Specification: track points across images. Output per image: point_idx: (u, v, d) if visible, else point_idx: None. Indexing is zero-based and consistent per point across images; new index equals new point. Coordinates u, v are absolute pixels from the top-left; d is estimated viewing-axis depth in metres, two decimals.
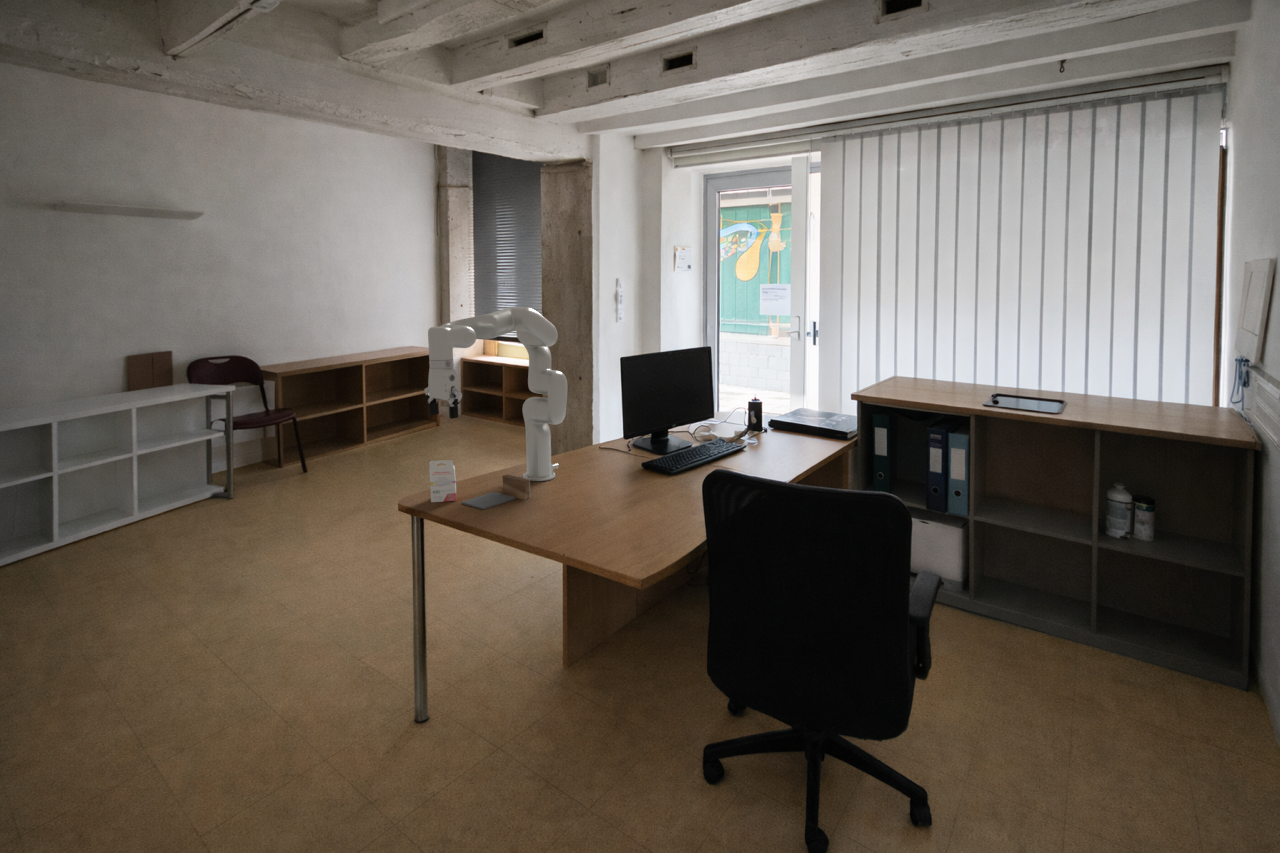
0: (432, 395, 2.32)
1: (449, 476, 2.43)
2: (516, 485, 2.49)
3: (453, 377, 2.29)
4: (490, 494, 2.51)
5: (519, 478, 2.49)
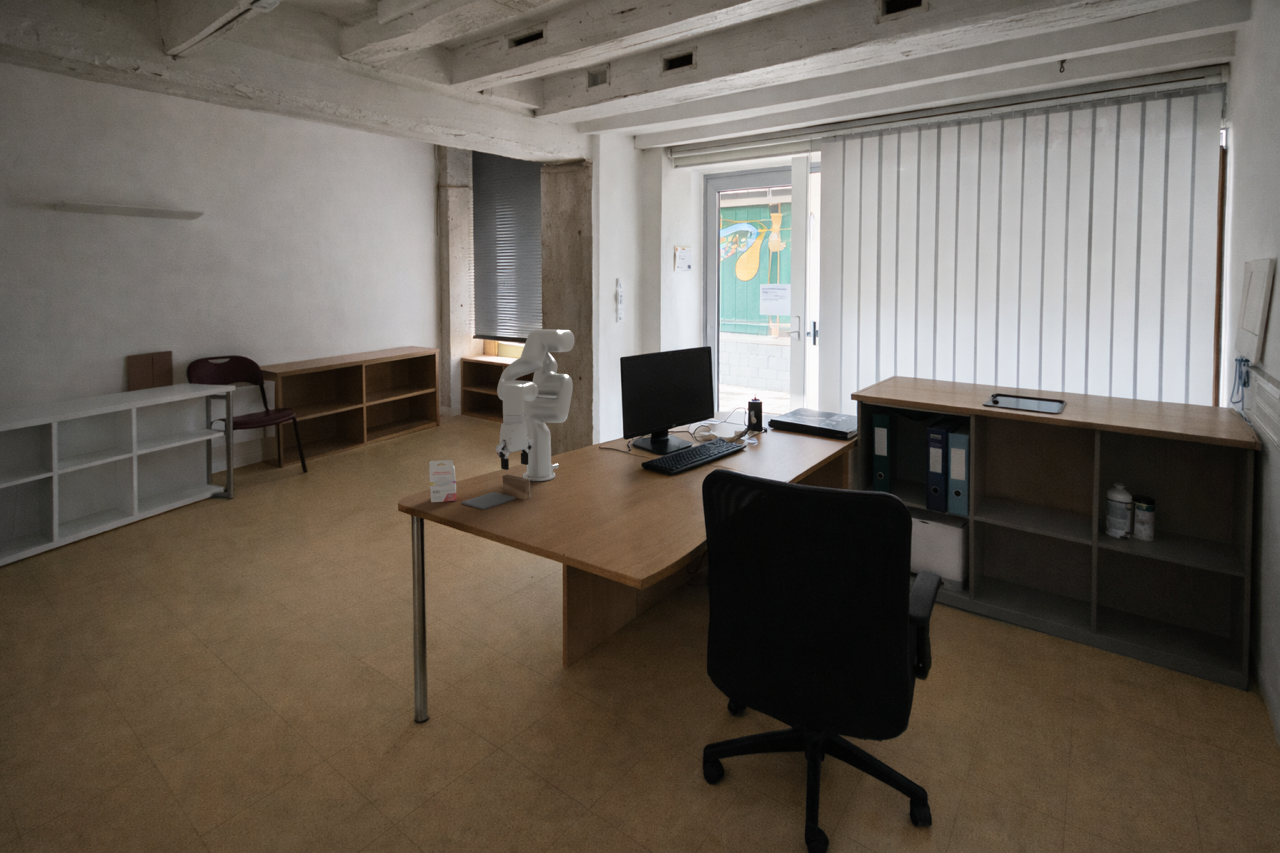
0: (513, 449, 2.44)
1: (449, 476, 2.43)
2: (516, 485, 2.49)
3: None
4: (490, 494, 2.51)
5: (519, 478, 2.49)
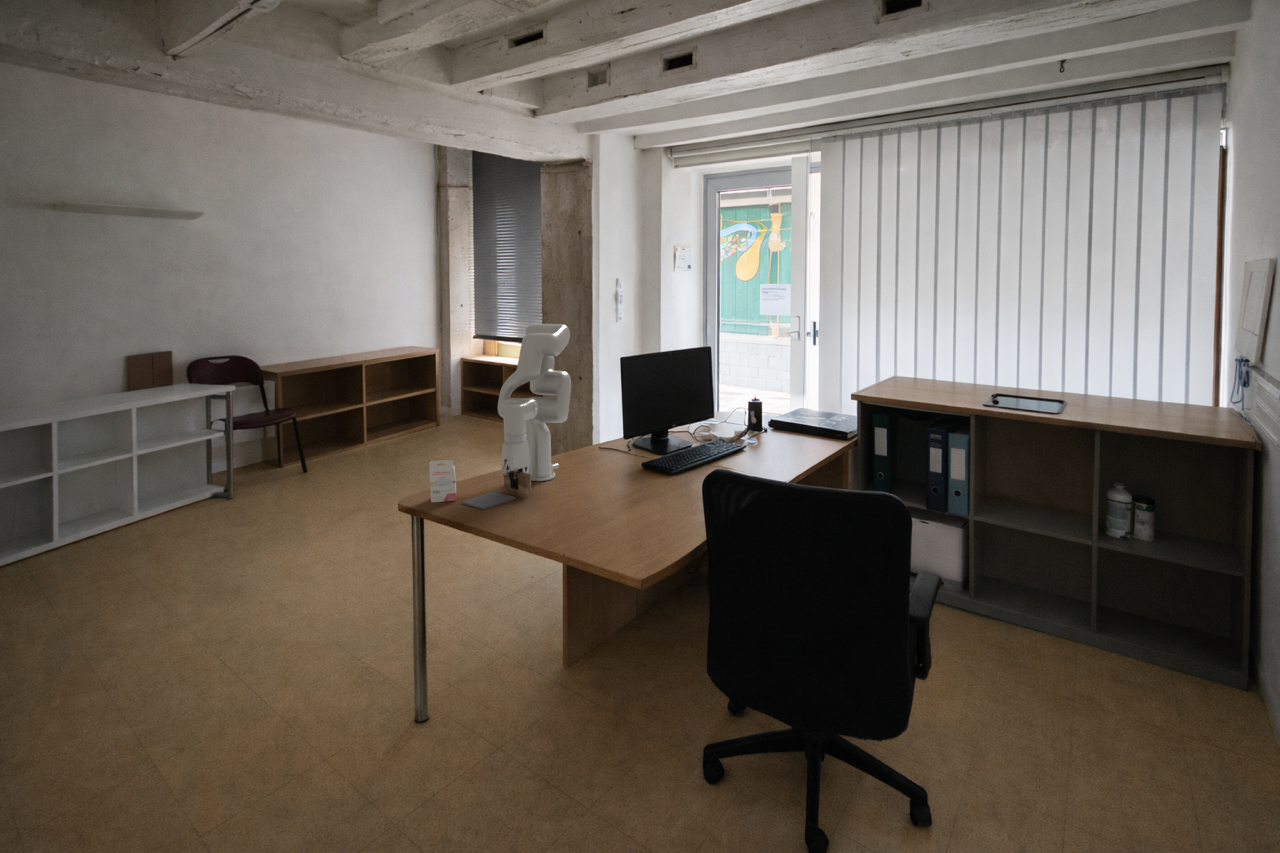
0: (515, 468, 2.46)
1: (449, 476, 2.43)
2: None
3: None
4: (490, 494, 2.51)
5: (520, 472, 2.50)
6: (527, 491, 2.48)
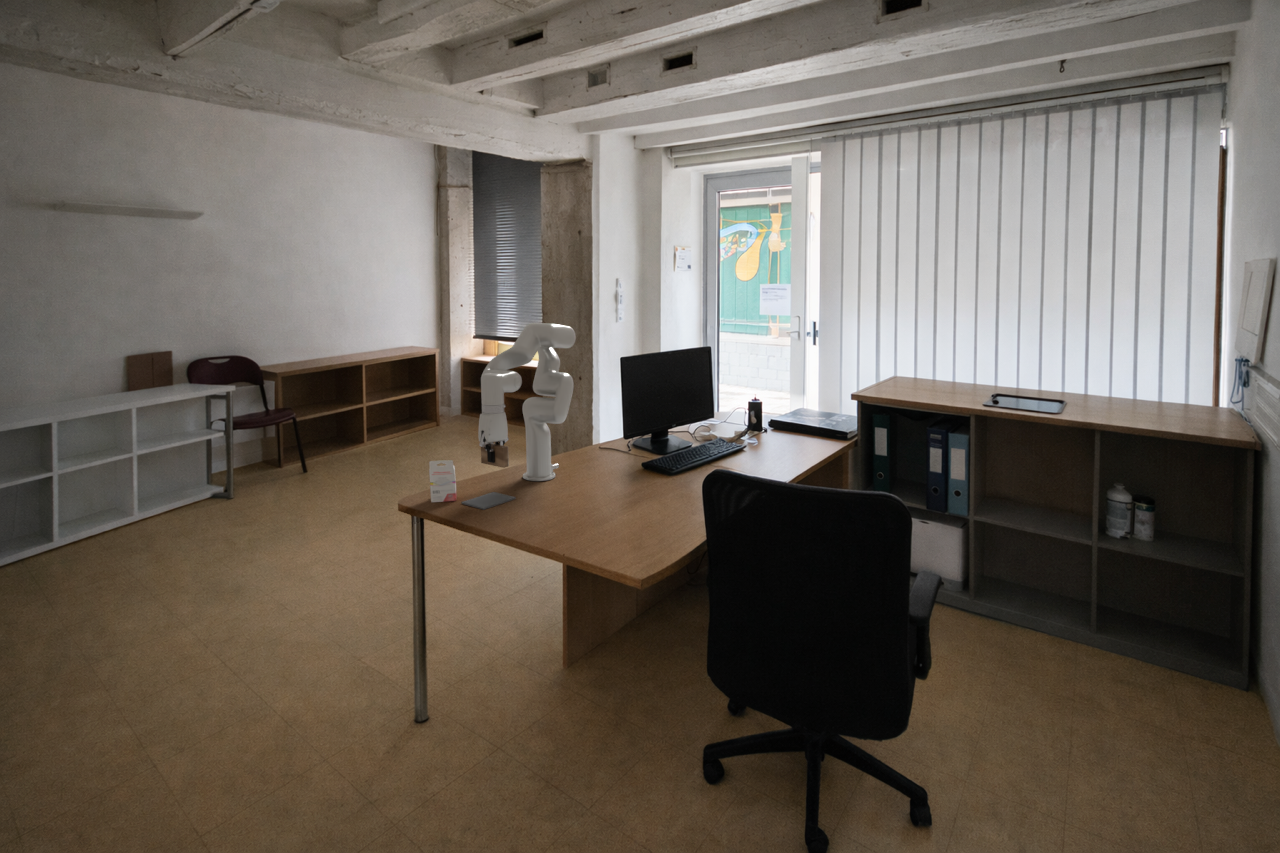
0: (492, 440, 2.40)
1: (449, 476, 2.43)
2: None
3: None
4: (490, 494, 2.51)
5: (498, 445, 2.43)
6: (504, 464, 2.41)
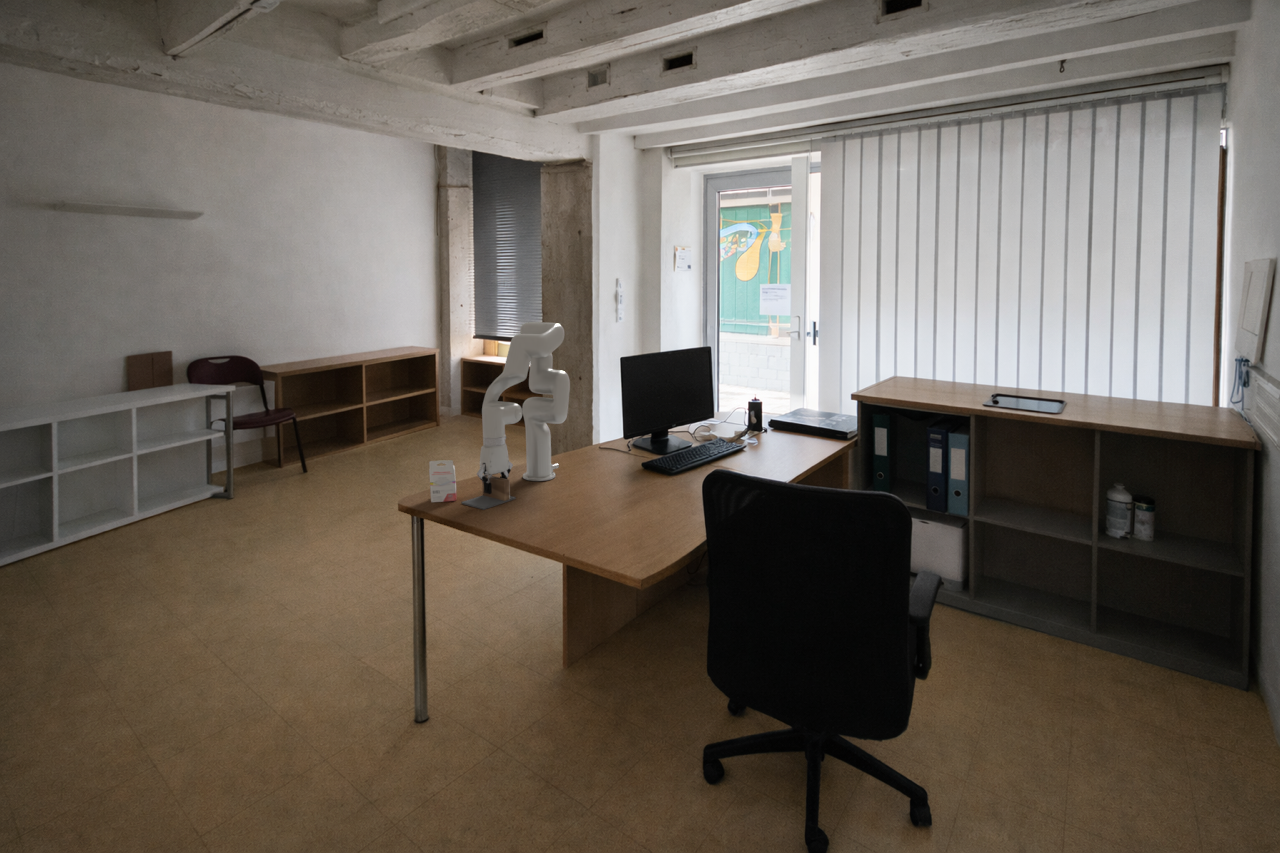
0: (493, 472, 2.42)
1: (449, 476, 2.43)
2: (496, 486, 2.45)
3: None
4: None
5: (499, 478, 2.46)
6: (505, 497, 2.44)
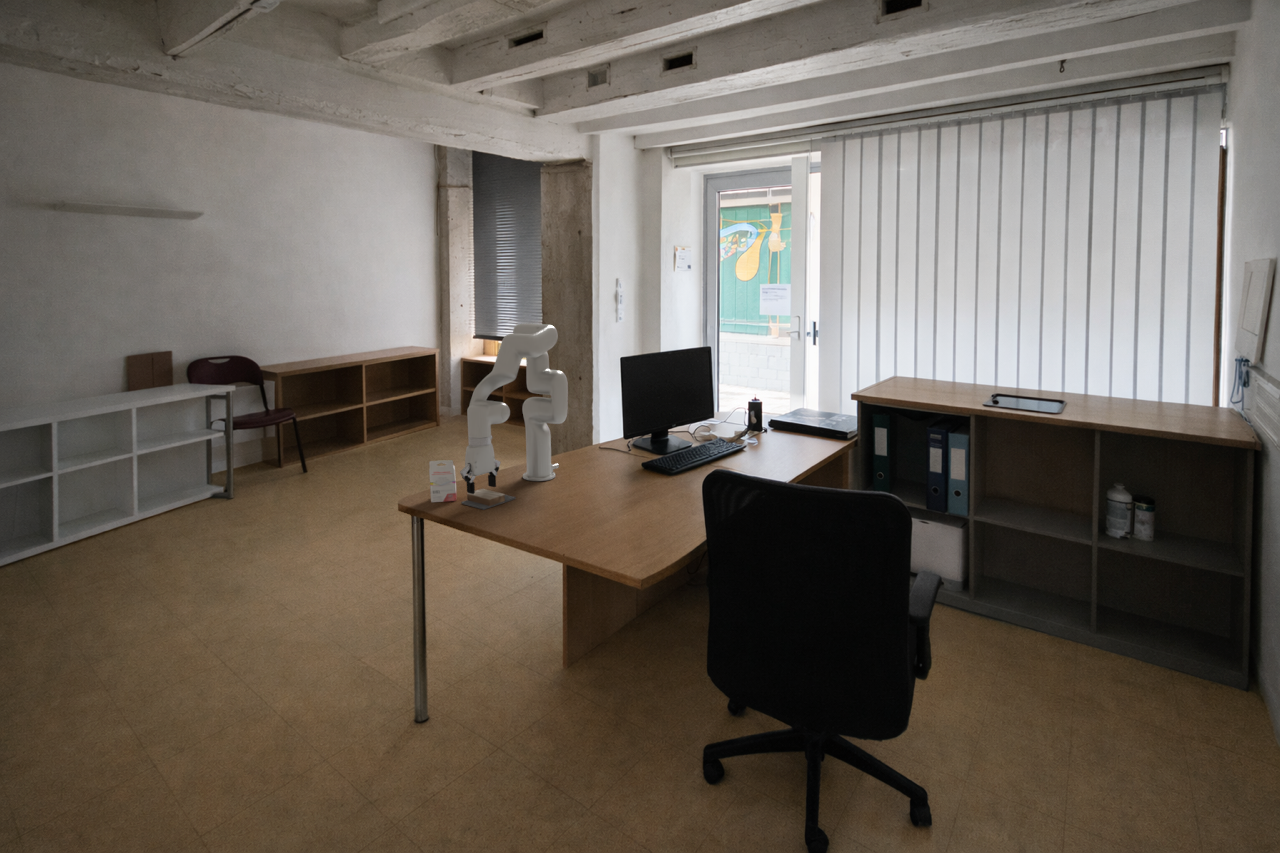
0: (479, 472, 2.37)
1: (449, 476, 2.43)
2: None
3: None
4: None
5: (481, 499, 2.40)
6: (502, 500, 2.43)
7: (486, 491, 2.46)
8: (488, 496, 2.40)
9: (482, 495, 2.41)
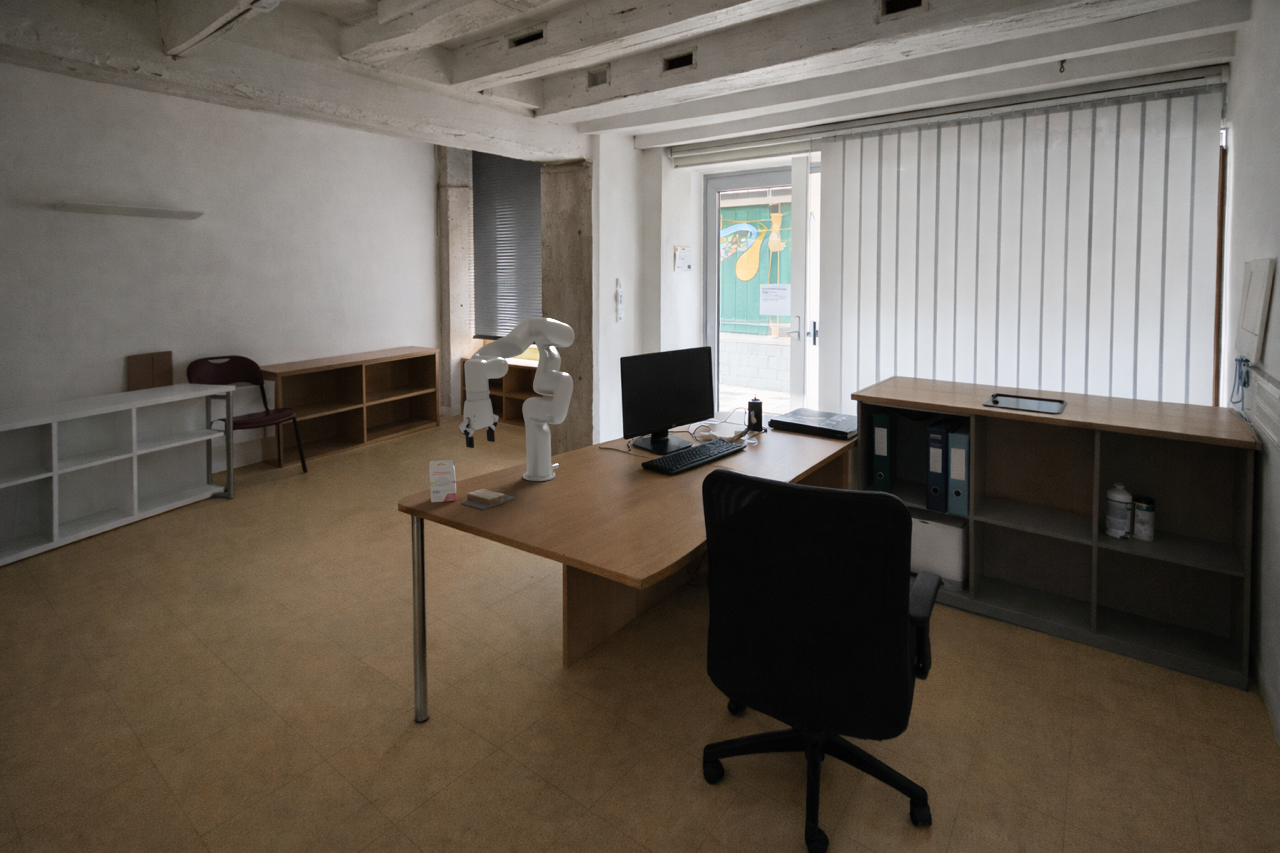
0: (478, 426, 2.38)
1: (449, 476, 2.43)
2: None
3: None
4: None
5: (481, 499, 2.40)
6: (502, 500, 2.43)
7: (486, 491, 2.46)
8: (488, 496, 2.40)
9: (482, 495, 2.41)
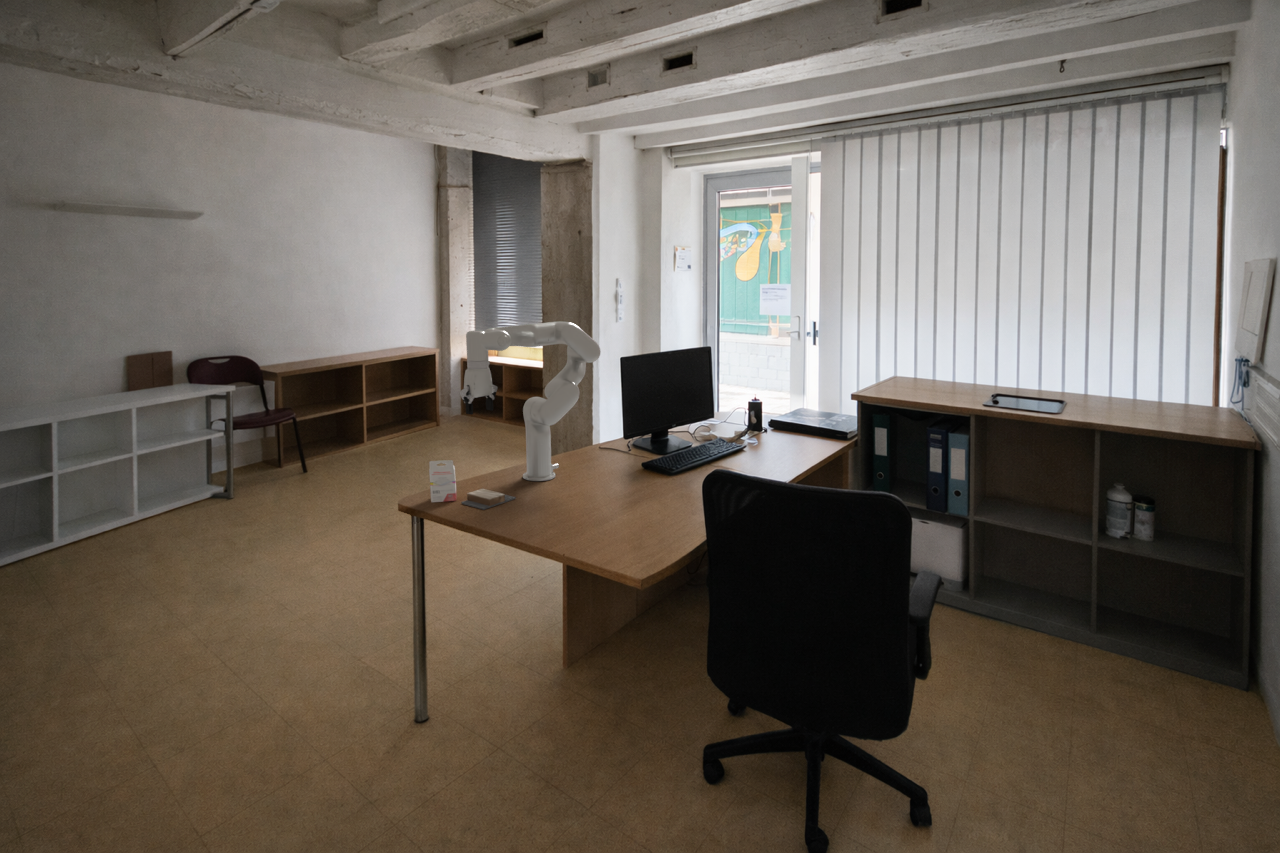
0: (477, 394, 2.52)
1: (449, 476, 2.43)
2: None
3: None
4: None
5: (481, 499, 2.40)
6: (502, 500, 2.43)
7: (486, 491, 2.46)
8: (488, 496, 2.40)
9: (482, 495, 2.41)
